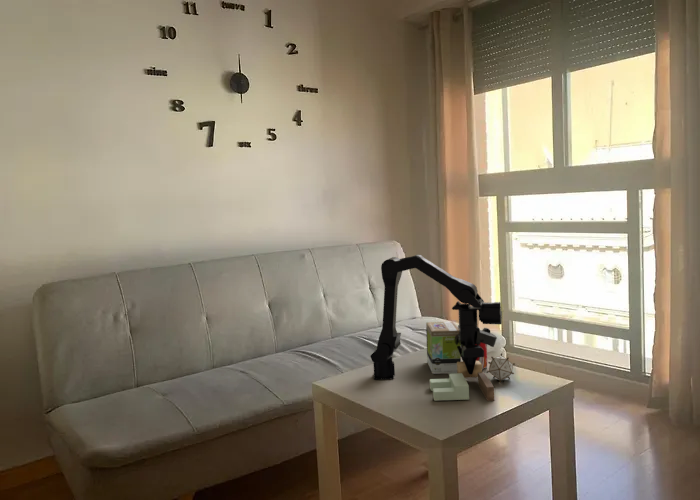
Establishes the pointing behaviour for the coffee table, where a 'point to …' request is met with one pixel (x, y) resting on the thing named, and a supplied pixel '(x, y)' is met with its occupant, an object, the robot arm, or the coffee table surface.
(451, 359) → the tea box
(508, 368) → the game die
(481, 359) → the soda can
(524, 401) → the coffee table surface
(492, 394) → the wall
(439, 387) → the slot block
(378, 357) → the robot arm
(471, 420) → the coffee table surface
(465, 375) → the block
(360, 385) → the coffee table surface
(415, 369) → the coffee table surface
